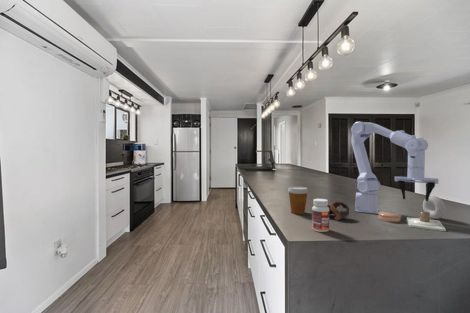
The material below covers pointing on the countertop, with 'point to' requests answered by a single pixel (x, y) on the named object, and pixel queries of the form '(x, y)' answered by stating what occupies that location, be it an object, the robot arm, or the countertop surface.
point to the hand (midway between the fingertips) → (415, 199)
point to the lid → (425, 219)
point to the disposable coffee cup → (298, 199)
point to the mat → (411, 224)
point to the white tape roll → (438, 207)
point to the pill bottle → (320, 215)
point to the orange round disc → (389, 216)
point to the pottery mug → (334, 211)
